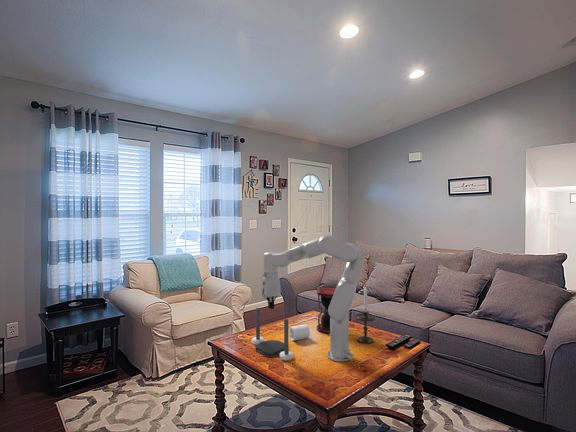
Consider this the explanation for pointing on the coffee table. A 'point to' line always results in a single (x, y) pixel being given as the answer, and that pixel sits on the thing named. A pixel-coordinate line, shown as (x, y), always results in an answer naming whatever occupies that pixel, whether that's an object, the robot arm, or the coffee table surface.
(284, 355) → the post
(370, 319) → the candlestick
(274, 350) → the media streaming box
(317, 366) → the coffee table surface
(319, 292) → the hourglass
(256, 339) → the far cord post
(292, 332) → the mug
